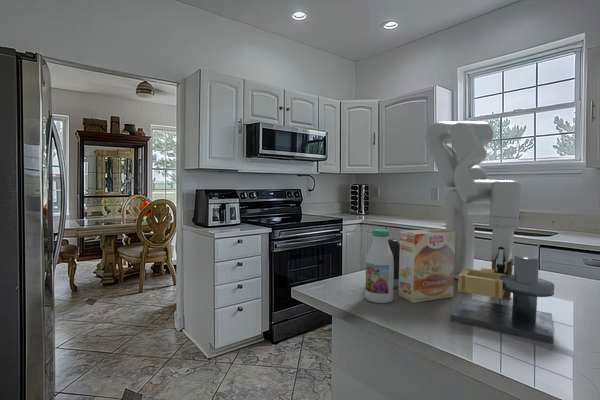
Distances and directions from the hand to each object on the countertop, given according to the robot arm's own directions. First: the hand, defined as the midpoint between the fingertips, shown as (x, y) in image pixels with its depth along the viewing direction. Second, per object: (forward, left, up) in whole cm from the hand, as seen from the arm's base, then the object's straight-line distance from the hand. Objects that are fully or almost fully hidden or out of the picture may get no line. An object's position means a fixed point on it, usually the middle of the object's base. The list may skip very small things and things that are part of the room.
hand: (501, 283), depth 102 cm
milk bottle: (-28, -25, -4) cm, 38 cm away
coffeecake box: (-18, -14, -4) cm, 23 cm away
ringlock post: (+2, -21, -4) cm, 22 cm away
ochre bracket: (-2, -18, +3) cm, 18 cm away
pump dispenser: (-30, -10, -4) cm, 32 cm away
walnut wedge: (0, 0, -4) cm, 4 cm away
